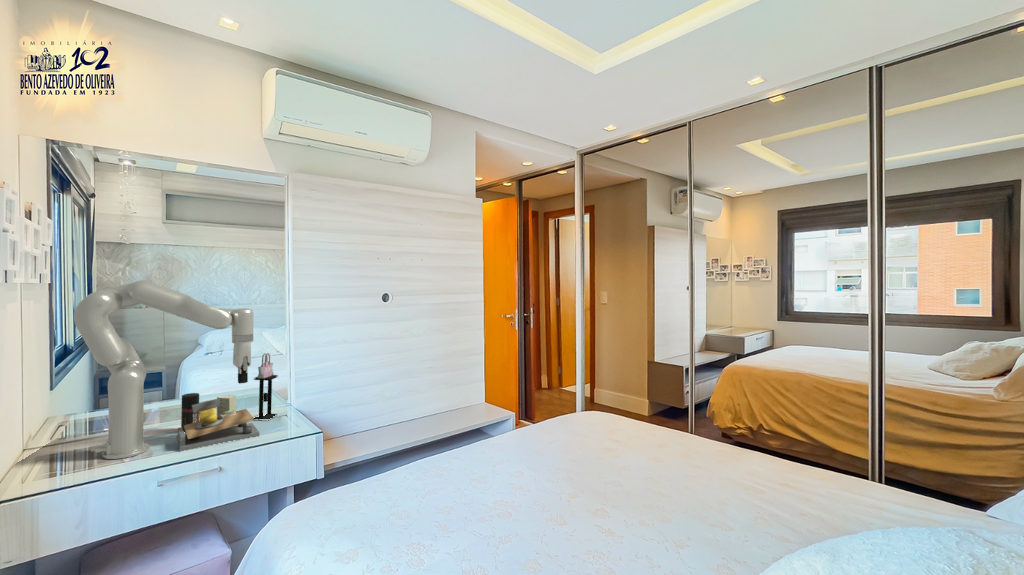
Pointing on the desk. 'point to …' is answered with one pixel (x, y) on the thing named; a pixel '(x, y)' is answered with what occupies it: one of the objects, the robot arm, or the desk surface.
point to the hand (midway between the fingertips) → (242, 382)
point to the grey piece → (216, 436)
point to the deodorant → (189, 409)
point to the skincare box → (226, 403)
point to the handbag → (268, 375)
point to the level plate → (223, 425)
